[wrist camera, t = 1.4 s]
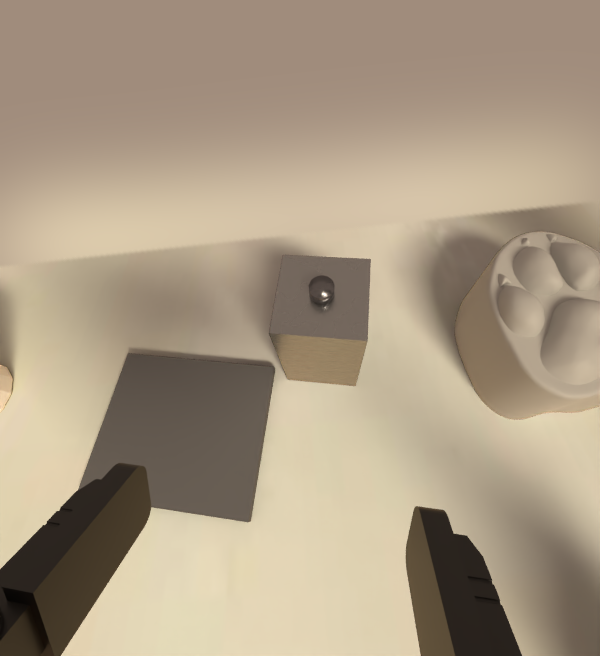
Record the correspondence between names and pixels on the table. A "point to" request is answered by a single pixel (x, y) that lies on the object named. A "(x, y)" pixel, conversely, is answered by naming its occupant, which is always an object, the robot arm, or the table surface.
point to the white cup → (5, 386)
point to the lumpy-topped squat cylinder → (534, 327)
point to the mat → (188, 432)
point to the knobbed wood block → (321, 318)
